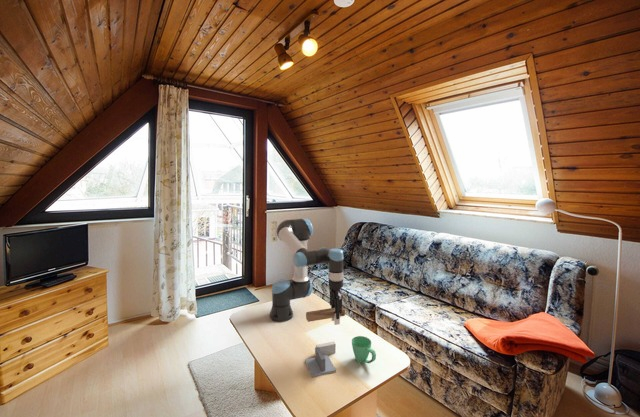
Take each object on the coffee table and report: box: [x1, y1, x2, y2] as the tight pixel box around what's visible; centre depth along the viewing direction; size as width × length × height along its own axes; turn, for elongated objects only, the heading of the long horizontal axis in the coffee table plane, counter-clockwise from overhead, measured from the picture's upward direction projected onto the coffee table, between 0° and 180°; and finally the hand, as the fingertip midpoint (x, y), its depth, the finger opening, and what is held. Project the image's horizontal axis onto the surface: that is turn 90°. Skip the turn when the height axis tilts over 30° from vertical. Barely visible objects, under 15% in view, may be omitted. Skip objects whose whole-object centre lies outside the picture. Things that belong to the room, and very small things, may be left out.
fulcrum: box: [304, 346, 337, 378], centre depth 140 cm, size 12×12×7 cm
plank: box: [305, 306, 346, 323], centre depth 148 cm, size 4×20×4 cm, turn 108°
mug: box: [351, 335, 377, 364], centre depth 143 cm, size 15×10×10 cm
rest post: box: [315, 341, 336, 356], centre depth 151 cm, size 2×10×5 cm, turn 108°
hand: (335, 322), depth 151 cm, fingers closed on plank, 3 cm apart
